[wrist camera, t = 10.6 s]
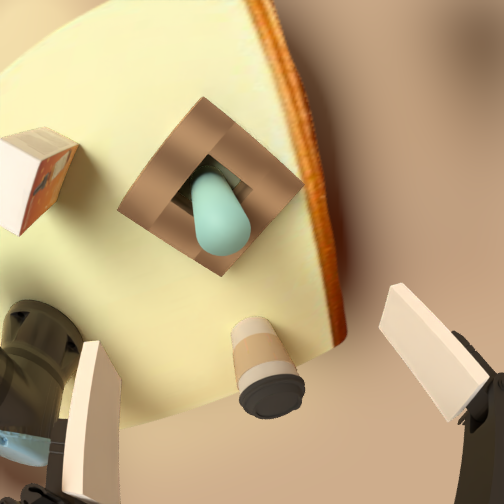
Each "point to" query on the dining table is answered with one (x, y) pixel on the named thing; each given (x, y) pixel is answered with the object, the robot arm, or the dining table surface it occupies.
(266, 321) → the coffee cup
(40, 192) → the small box
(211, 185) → the peg
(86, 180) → the dining table surface
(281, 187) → the socket
